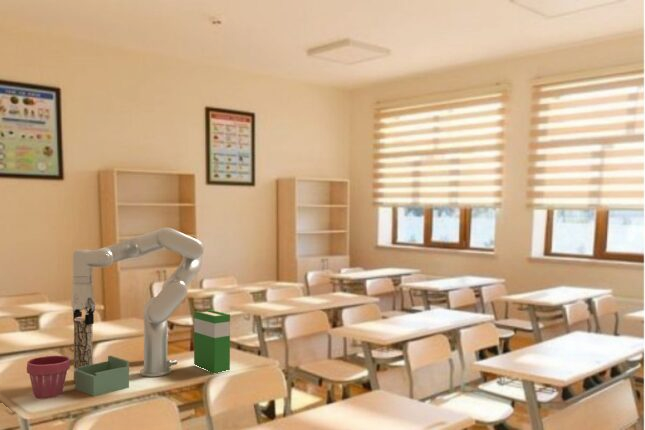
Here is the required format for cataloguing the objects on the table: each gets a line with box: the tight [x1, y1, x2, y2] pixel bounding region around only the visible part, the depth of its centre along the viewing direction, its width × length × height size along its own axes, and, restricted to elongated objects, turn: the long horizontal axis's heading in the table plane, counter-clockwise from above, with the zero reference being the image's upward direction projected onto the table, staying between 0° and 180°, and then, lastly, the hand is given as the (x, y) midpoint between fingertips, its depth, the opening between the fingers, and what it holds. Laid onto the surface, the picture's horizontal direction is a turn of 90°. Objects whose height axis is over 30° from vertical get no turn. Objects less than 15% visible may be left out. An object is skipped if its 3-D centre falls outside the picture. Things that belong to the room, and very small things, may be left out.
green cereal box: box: [193, 309, 231, 374], centre depth 234 cm, size 18×7×24 cm, turn 42°
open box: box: [74, 355, 130, 397], centre depth 205 cm, size 14×14×10 cm
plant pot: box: [26, 355, 71, 400], centre depth 197 cm, size 14×14×13 cm
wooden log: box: [73, 315, 94, 382], centre depth 215 cm, size 7×7×25 cm
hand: (83, 323), depth 216 cm, fingers open, 9 cm apart
